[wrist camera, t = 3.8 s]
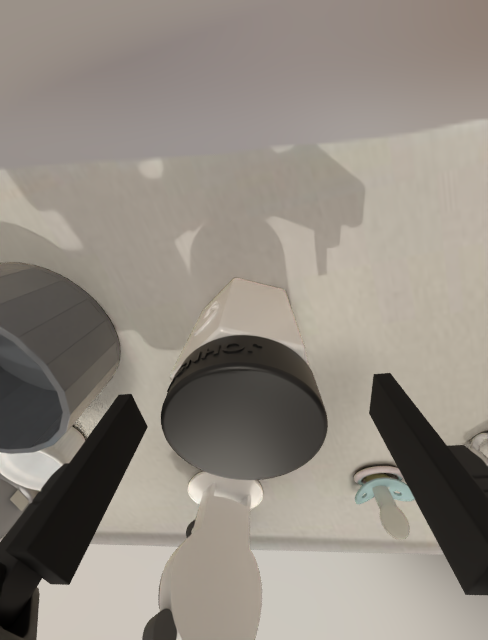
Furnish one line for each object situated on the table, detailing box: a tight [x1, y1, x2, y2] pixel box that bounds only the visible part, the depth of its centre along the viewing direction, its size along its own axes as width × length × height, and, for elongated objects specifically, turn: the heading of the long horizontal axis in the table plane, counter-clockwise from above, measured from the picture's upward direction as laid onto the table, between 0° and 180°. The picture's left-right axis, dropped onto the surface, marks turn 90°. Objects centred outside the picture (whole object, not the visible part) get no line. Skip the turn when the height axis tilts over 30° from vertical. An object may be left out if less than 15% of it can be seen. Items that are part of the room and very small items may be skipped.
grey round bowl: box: [0, 262, 120, 454], centre depth 20 cm, size 15×15×8 cm
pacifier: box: [354, 466, 415, 540], centre depth 29 cm, size 7×6×6 cm
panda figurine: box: [143, 471, 263, 640], centre depth 28 cm, size 12×11×15 cm
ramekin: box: [0, 426, 85, 491], centre depth 29 cm, size 9×9×4 cm
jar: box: [161, 278, 328, 480], centre depth 16 cm, size 9×8×12 cm
